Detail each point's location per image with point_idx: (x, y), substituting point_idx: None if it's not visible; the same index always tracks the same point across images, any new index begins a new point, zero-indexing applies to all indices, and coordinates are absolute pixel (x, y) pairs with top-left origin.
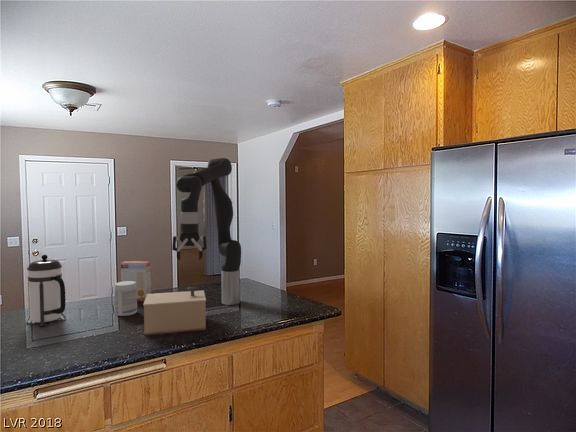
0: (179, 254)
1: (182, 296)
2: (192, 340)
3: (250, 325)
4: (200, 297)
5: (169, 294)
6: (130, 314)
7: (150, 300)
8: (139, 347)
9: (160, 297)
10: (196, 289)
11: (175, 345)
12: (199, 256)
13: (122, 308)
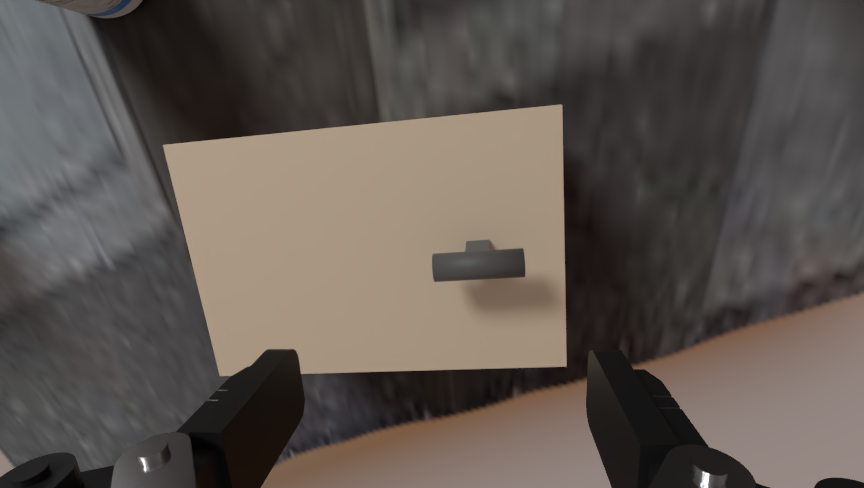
0: (251, 482)
1: (412, 258)
2: (484, 390)
3: (759, 278)
4: (532, 307)
5: (316, 188)
6: (137, 6)
7: (234, 309)
8: (308, 407)
9: (275, 254)
10: (508, 277)
11: (426, 419)
12: (606, 454)
13: (69, 9)
